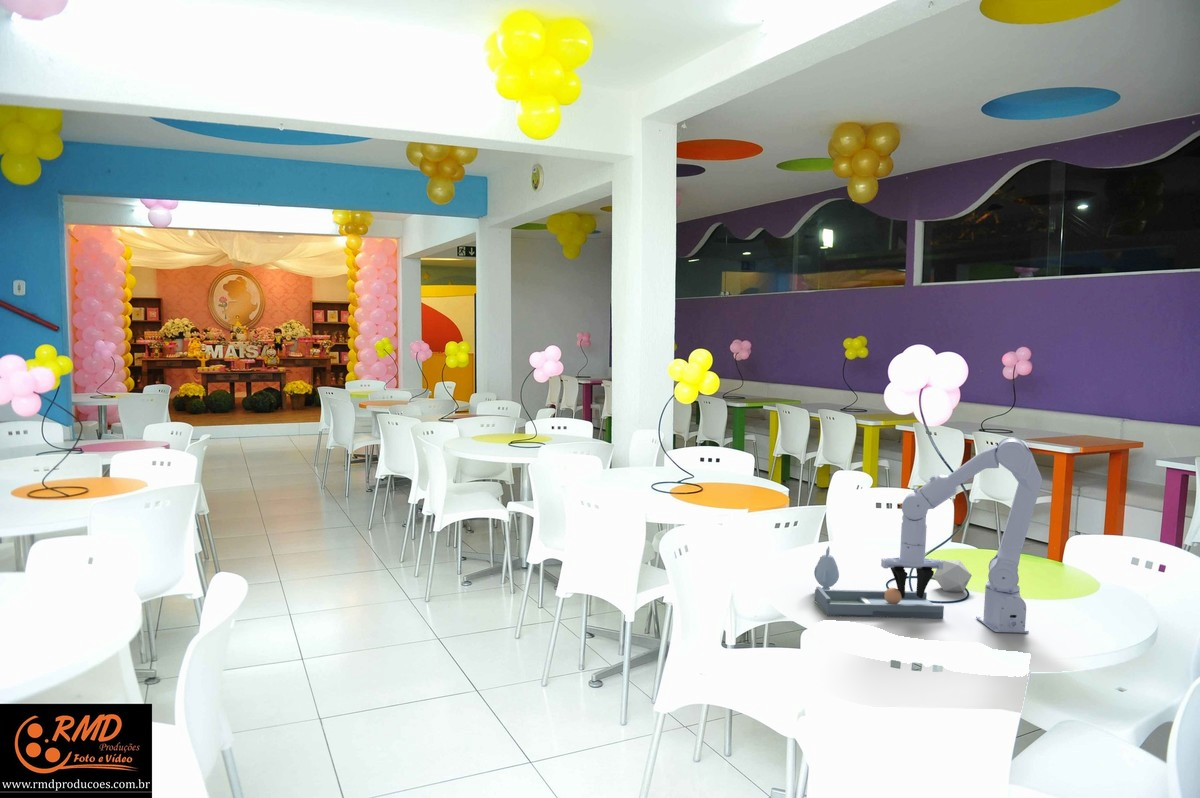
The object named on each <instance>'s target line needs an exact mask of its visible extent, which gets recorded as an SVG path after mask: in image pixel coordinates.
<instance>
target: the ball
mask: <svg viewBox="0 0 1200 798" xmlns="http://www.w3.org/2000/svg"><path fill="white" fill-rule="evenodd" d="M884 591H885V594H884V596H885V600H886V601H887V602H888V603H890V604H898V603H899V602H900V601H901V598H902V597H901V593H900V591H899V590H898V588H896V587H889V588H887V589H886V590H884Z"/></svg>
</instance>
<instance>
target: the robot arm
mask: <svg viewBox="0 0 1200 798" xmlns="http://www.w3.org/2000/svg"><path fill="white" fill-rule="evenodd" d="M1000 465H1001V466H1002V467H1004V469H1007V471H1009V472H1010V473H1011V474H1012V475H1013V477H1014V479H1015V480H1016V481H1017V487H1016V490H1015V493H1014V497H1013V501H1012V503H1011V507H1010V510H1009V513H1008V516H1007V517H1008V518H1007V520H1006V524H1005V527H1004V531H1003V533H1002V537H1001V540H1000V544H999V546H998V549H997V552H996V554H995V556H994V557H993V558H992V559H991V560H990V561H989V562H988V563H989V564H988V576H987V577H988V581H986V582H985V587H984V589H985V591H984V601H983V602H984V605H983V615H976V616H975V618H976V619H977V620H978V621H980V623H982V624H984V625H985V626H986V627H987V628H989V629H990V630H992V631H993V632H995V633H1022V634H1023V633H1024V634H1028V633H1029V632H1030V631H1029V629H1027V628H1026V619H1027V603H1026V602H1025V601H1024V600H1025V599H1023V598H1022V596H1021V594H1020V593H1021V590H1020V589H1021V587H1020V586H1019V585H1018V584H1019V582H1020V581H1019V579H1020V578H1019V577H1020V576H1019V573H1018V572H1019V565H1020V560H1021V555H1022V552H1023V551H1022V550H1023V547H1024V543H1025V540H1026V537H1027V534H1028V531H1029V527H1030V523H1031V520H1032V517H1033V514H1034V510H1035V507H1036V504H1037V500H1038V497H1039V494H1040V490H1041V487H1042V485H1043V484H1042V483H1043V477H1042V475H1041V472H1040V471H1039V468H1038V465H1037V463H1036V461H1035V458H1034V456H1033V453H1032V451H1031V450H1030V449H1029V447H1028V446H1027V445H1026V444H1025V442H1023V441H1022V440H1021V439H1019V438H1017V437H1013V436H1012V437H1010V436H1009V437H1005V438H1003V439H1002V440H1001V441H999V443H998V444H997V443H994V444H992V445H990V446H989V447H987V448H986V449H983V450H982V451H980V452H978V453H977V454H976V455H975V456H973V457H971V459H969V460H968V461H966V462H965V463H964V464H962V465H961V466H960V467H958V468H957V469H956V470H953V472H951V473H950V474H948V475H947V474H946V475H945V474H938V475H937V476H936V475H933V476H931V477H930V478H929V481H928V482H927V483H925V484H924V485H922V486H921V487H920V488H918V487H915V488H914V489H913V492H912V493H909V494H907V496H906V497H905V498H904V499H903V501H902V504H901V511H902V517H901V518H902V522H901V527H900V549H899V550H900V551H899V552H900V554H899V557H890V558H888V557H887V558H881V560H880V561H881V563H880V567H881V568H883V569H888V568H890V571H891V572H892V574H893V577H894V580H895V584H896V587H897V588H896V589H898V590H899V591H900V593H901V597H902V598H904V597H905V591H906V583H907V582H906V581H907V578H908V577H907V576H908V572H906V569H916V594H917V596H918V597H919V598H923V594H924V592H926V588H927V586H928V584H929V582H930V581H931V579H932V578H934V577H933V576H934V574H935V570H933V569H936V570H937V569H943V562H942V561H941V560H942V559H932V558H926V547H927V546H926V544H927V542H926V541H927V524H926V521H927V514H928V510H932V509H933V510H934V509H936V508H937V507H938V506H940V505H941V504H943V503H944V502H946V501H947V500H949V499H950V498H952V497H953V496H955V495H956V492H957V487H958V486H960V485H961V484H963V483H964V482H966V481H968V480H969V479H971V478H972V477H974V476H976V475H977V474H979V473H981V472H982V471H983V470H985V469H999V468H1000Z"/></svg>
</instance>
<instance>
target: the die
mask: <svg viewBox="0 0 1200 798" xmlns="http://www.w3.org/2000/svg"><path fill="white" fill-rule="evenodd" d="M940 560H941V561H942V562H943V569H936V570H935V571H934V575H933V577H932V578H934V579H935V581H936V582H937V583H938V585H939V586H940V588H942V590H943V591H944V592H955V591H965V589H966V588H967V586H968V584H969V582H970V580H971V578H972V577H973V576H972V574H971V572H970V571H969V569H968V568H967V567H966V565H964V563H963V562H962V561H961V560H957V559H952V560H951V559H950V560H949V559H940Z"/></svg>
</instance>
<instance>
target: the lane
mask: <svg viewBox="0 0 1200 798" xmlns="http://www.w3.org/2000/svg"><path fill="white" fill-rule="evenodd" d="M885 591H886V590H869V589H868V590H866V589H865V590H863V589H861V590H860V589H859V590H858V589H857V590H856V589H830V590H823V589H822V587H821V586H816V587H815V589H814V602H815V601H816V602H817V603H816V602H815V603H816V605H817V604H818V605H819V606H818V605H817V606H818V607H819V608H820V610H821V611H822V612H823V613H824V615H825V616H826V615H827V616H826V617H840V616H841V618H842V617H843V618H844V617H846V618H848V617H850V618H851V617H852V618H858V617H859V618H895V619H896V618H899V619H902V618H903V619H904V618H905V619H907V618H908V619H909V618H910V619H944V612H945V611H944V610H945V606H944V605H943V604H934V603H933V602H931V601H930V600H929V599H928V598H927V594H928V593H927V592H926V591H924V594H923V598H919V597H918V596H917V594H916V591H915V590H914V591H913V590H912V591H910V590H909V591H907V590H905V597H904V598H901V601H900V602H899V603H898V604H890V603H888V602H887V601H886V600H885V596H884V594H885ZM911 617H913V618H911Z"/></svg>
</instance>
